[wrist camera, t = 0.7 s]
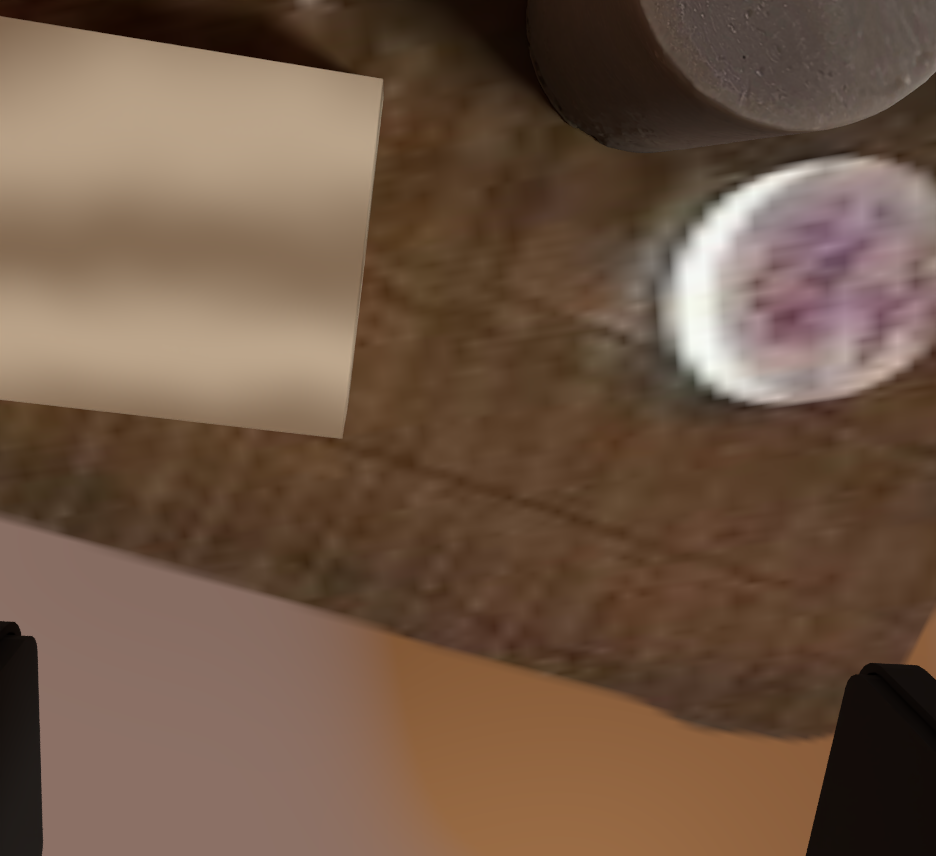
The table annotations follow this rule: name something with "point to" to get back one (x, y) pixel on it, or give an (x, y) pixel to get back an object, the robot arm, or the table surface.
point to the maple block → (181, 229)
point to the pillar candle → (725, 65)
